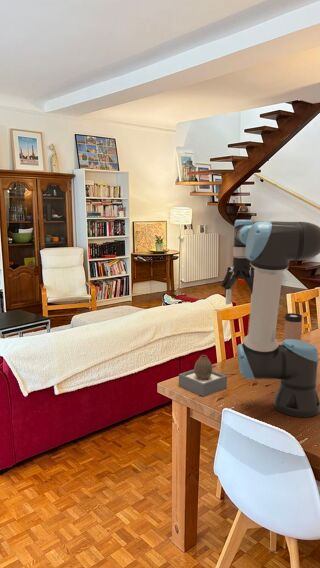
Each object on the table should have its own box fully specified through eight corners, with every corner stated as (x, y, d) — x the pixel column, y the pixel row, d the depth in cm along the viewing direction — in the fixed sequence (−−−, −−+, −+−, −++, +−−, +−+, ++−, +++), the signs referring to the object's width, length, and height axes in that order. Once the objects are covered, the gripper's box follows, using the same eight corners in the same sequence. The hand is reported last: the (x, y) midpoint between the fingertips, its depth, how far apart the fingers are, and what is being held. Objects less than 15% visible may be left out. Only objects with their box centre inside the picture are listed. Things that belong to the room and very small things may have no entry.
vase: (191, 379, 165) (191, 357, 163) (198, 373, 171) (198, 352, 169) (208, 382, 162) (209, 360, 160) (214, 376, 168) (215, 354, 166)
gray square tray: (226, 387, 166) (227, 376, 166) (203, 396, 158) (203, 384, 157) (202, 377, 176) (202, 366, 175) (178, 385, 168) (178, 374, 167)
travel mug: (279, 355, 205) (281, 314, 202) (291, 353, 208) (294, 312, 205) (290, 360, 198) (292, 317, 195) (303, 358, 201) (306, 316, 198)
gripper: (272, 259, 174) (270, 310, 178) (226, 254, 193) (224, 300, 197) (260, 260, 170) (258, 313, 173) (214, 255, 189) (212, 302, 192)
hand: (240, 306), depth 185 cm, fingers open, 13 cm apart
